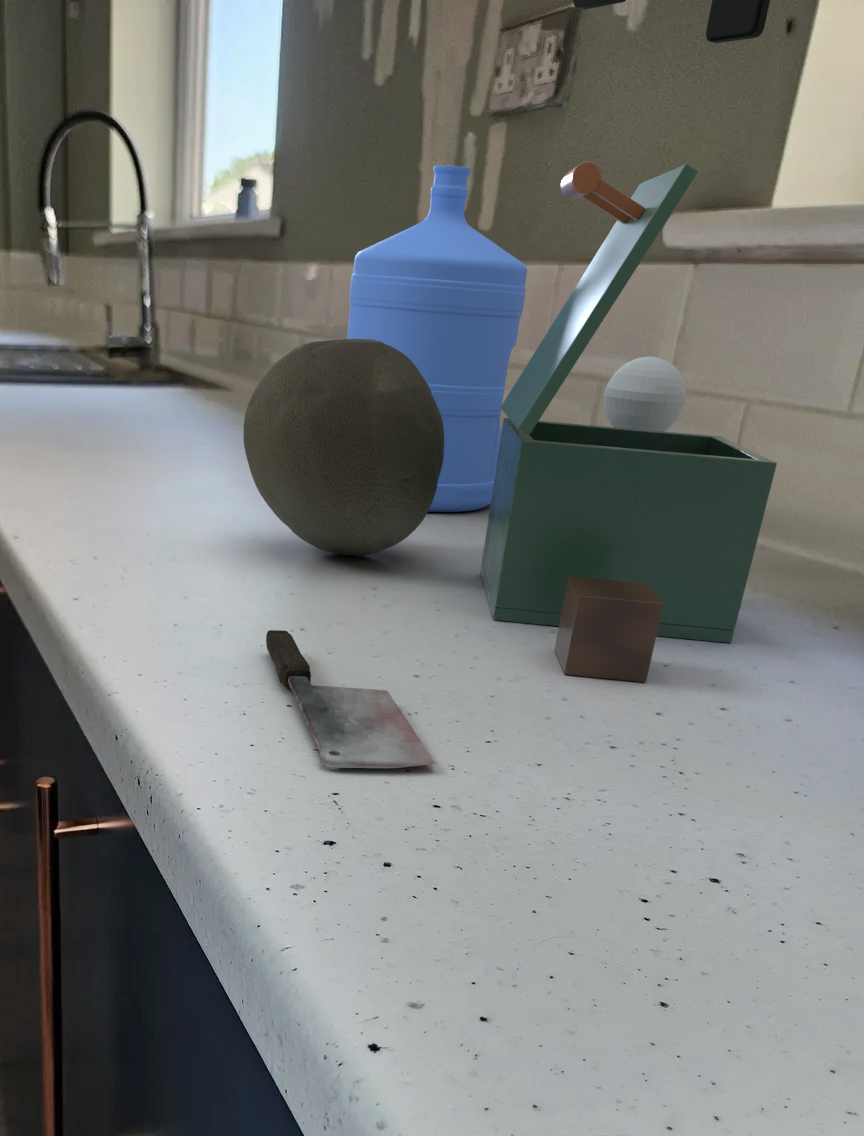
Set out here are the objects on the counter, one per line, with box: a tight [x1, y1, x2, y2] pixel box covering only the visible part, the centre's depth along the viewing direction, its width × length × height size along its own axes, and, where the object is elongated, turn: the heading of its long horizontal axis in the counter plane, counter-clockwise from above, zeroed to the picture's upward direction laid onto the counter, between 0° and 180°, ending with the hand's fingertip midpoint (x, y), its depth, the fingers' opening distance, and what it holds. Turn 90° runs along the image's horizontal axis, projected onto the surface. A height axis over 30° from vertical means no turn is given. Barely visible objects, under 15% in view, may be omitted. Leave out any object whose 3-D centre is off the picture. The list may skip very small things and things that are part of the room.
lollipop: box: [603, 356, 687, 432], centre depth 87 cm, size 6×6×15 cm
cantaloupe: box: [243, 338, 444, 557], centre depth 81 cm, size 14×14×15 cm
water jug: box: [346, 165, 528, 513], centre depth 103 cm, size 16×16×28 cm
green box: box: [479, 417, 778, 644], centre depth 73 cm, size 15×13×11 cm
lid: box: [501, 160, 699, 435], centre depth 68 cm, size 15×13×5 cm
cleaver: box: [265, 629, 436, 769], centre depth 54 cm, size 16×1×5 cm
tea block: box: [554, 576, 664, 683], centre depth 62 cm, size 4×4×4 cm
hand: (669, 22), depth 56 cm, fingers open, 9 cm apart
